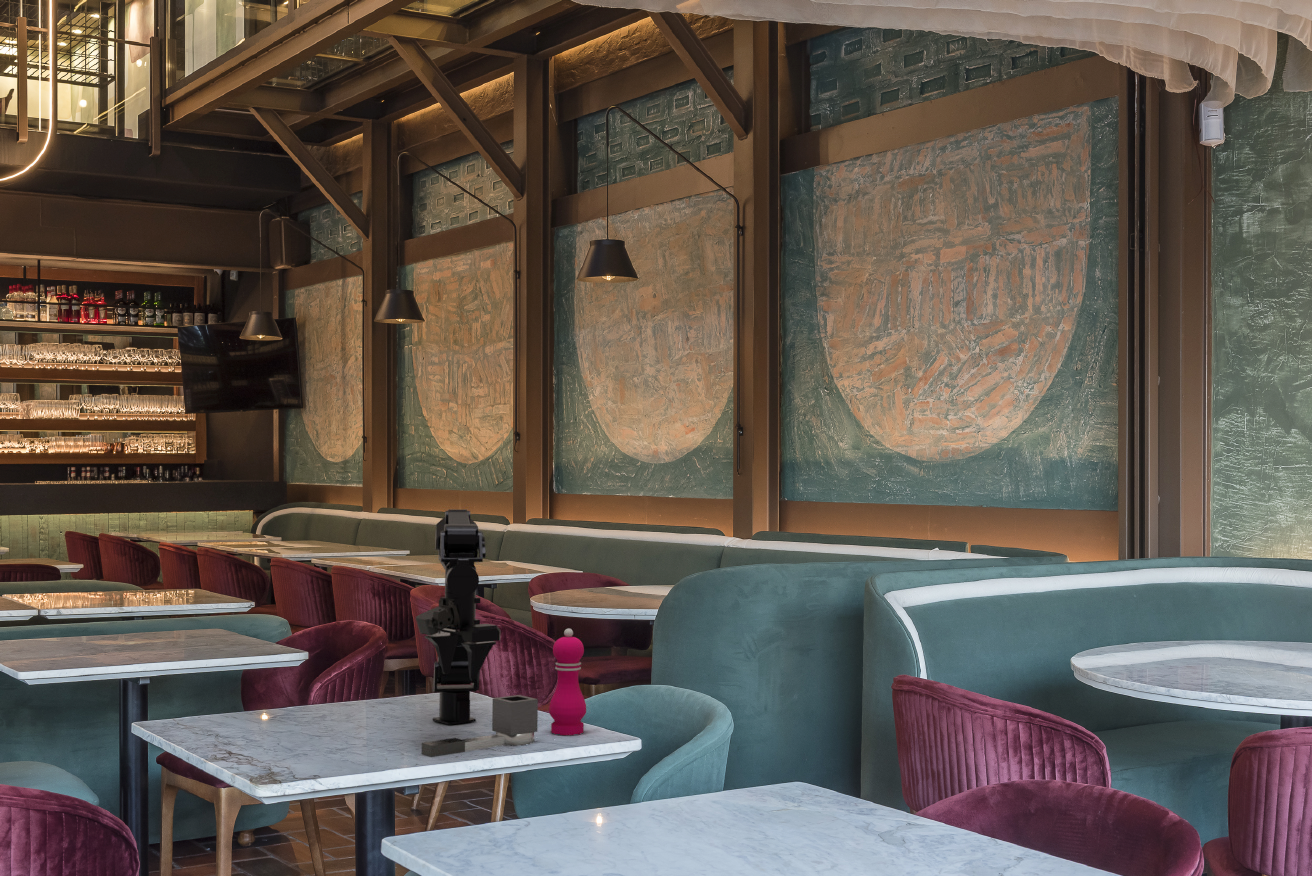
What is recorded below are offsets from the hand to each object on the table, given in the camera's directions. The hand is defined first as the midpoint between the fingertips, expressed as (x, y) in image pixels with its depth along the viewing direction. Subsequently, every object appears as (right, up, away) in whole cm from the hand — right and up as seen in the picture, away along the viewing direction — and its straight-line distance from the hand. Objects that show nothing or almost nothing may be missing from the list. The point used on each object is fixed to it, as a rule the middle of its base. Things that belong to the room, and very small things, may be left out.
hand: (459, 676), depth 237 cm
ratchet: (+5, -12, -6) cm, 14 cm away
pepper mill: (+20, -13, +9) cm, 25 cm away
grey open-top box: (+10, -10, 0) cm, 14 cm away
